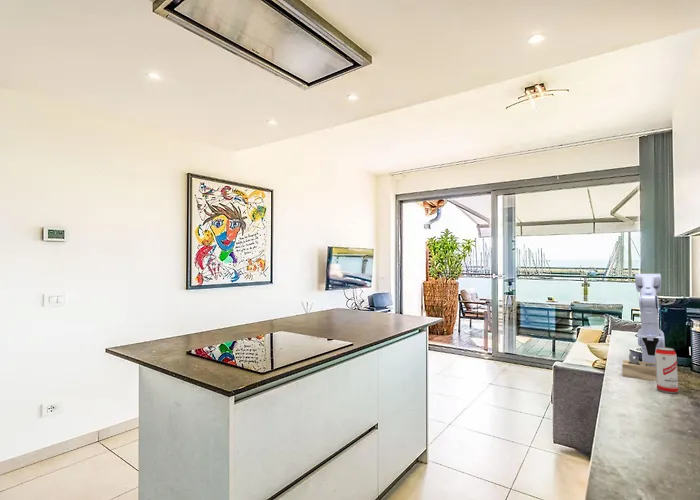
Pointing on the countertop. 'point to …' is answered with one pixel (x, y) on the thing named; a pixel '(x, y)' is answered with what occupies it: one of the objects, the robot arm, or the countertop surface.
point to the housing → (639, 370)
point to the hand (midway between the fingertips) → (651, 355)
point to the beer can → (666, 370)
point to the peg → (634, 360)
